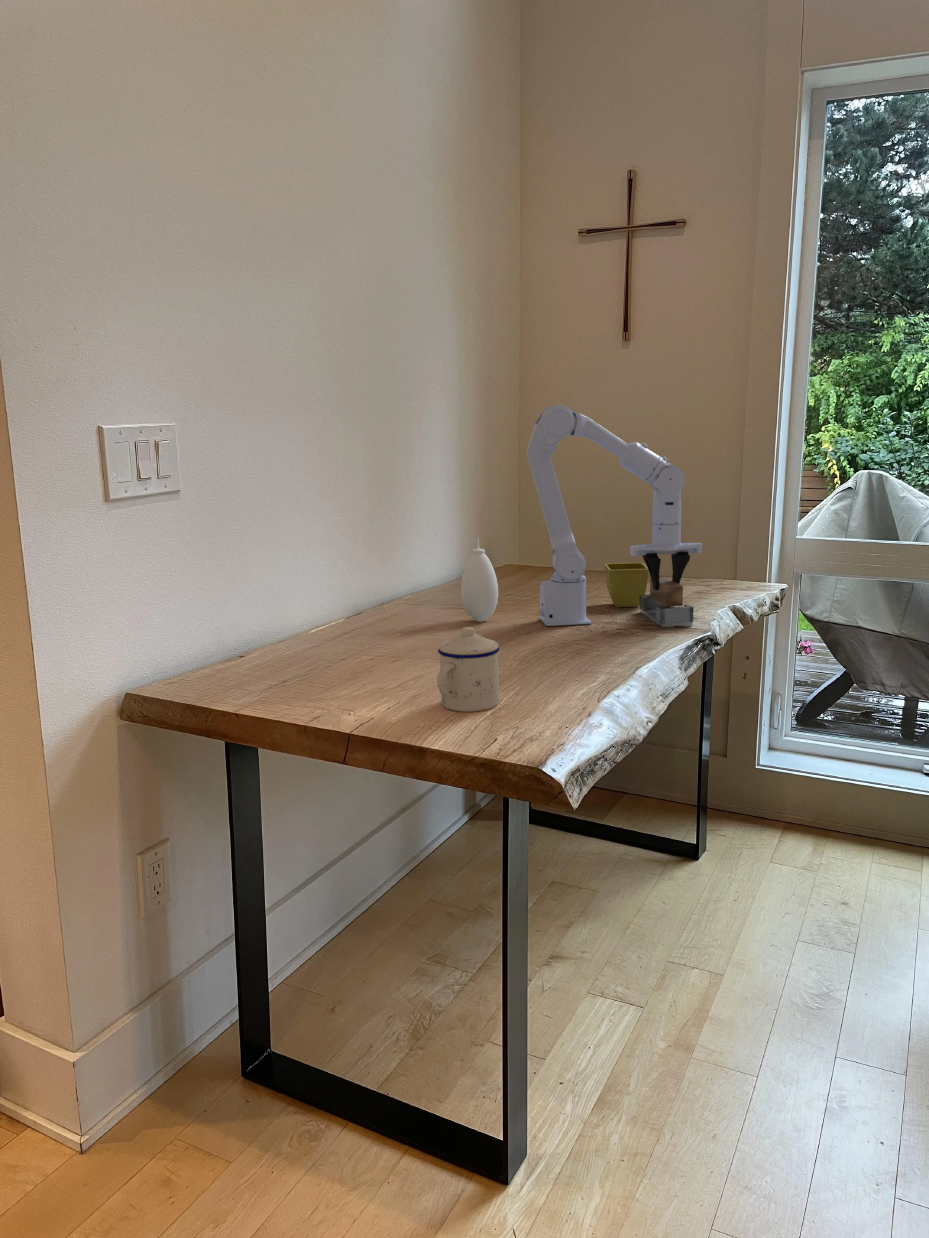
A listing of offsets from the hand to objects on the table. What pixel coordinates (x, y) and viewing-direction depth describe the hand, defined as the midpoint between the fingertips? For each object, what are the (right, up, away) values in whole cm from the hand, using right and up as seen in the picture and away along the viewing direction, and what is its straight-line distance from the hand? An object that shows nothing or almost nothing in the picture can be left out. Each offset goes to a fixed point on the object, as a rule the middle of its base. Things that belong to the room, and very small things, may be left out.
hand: (665, 589), depth 193 cm
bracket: (0, -6, +1) cm, 6 cm away
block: (0, -2, 0) cm, 3 cm away
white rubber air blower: (-38, -7, +5) cm, 39 cm away
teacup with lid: (-42, -19, -54) cm, 71 cm away
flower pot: (-5, -3, +17) cm, 18 cm away
